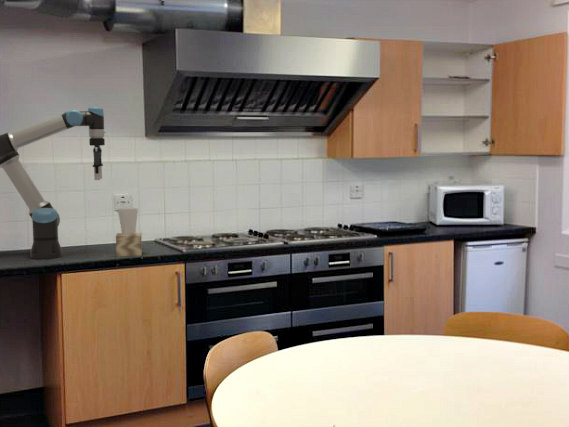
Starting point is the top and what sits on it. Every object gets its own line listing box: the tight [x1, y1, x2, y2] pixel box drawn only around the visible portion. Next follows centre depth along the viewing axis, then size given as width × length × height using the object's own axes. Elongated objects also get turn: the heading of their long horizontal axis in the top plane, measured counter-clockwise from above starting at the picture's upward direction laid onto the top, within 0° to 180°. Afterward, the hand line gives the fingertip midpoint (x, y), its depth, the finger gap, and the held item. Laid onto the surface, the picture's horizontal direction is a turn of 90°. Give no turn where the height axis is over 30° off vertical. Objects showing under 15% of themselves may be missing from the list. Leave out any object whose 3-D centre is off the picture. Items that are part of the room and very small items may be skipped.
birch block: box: [115, 232, 143, 258], centre depth 363 cm, size 12×12×10 cm
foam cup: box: [117, 206, 139, 235], centre depth 362 cm, size 10×9×13 cm
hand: (98, 179), depth 374 cm, fingers open, 13 cm apart
